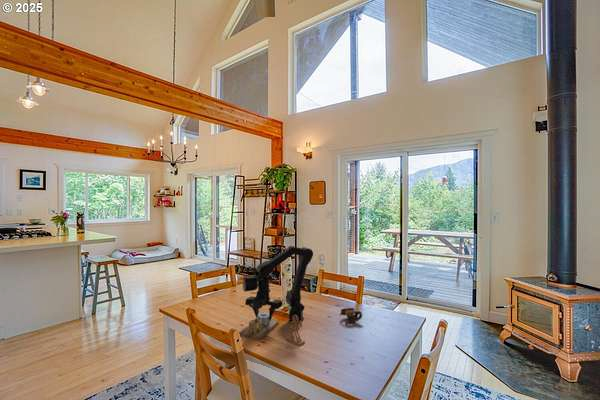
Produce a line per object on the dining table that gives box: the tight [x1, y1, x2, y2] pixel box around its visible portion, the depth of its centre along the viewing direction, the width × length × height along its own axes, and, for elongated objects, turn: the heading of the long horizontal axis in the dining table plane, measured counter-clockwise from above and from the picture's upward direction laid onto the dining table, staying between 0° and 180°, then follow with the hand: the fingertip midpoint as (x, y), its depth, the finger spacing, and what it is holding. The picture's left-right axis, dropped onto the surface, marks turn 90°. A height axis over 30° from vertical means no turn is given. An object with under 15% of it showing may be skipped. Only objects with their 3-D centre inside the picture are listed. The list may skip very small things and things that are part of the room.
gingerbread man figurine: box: [285, 315, 306, 347], centre depth 131 cm, size 9×4×12 cm, turn 45°
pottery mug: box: [339, 307, 363, 326], centre depth 153 cm, size 12×9×8 cm
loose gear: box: [256, 312, 270, 326], centre depth 146 cm, size 7×7×4 cm
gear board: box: [239, 318, 279, 341], centre depth 143 cm, size 12×18×6 cm, turn 160°
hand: (263, 319), depth 147 cm, fingers open, 7 cm apart
